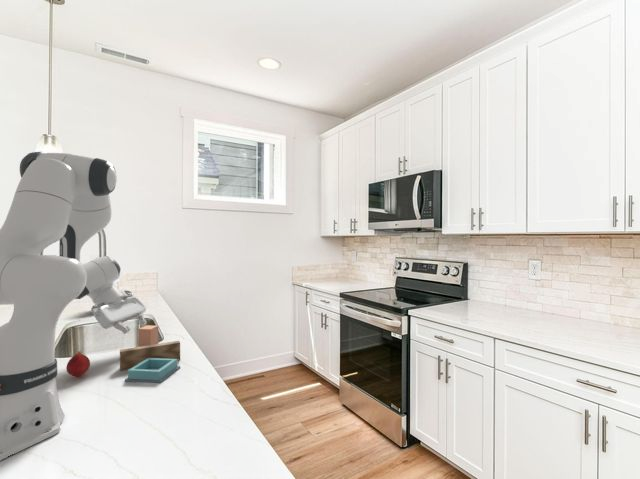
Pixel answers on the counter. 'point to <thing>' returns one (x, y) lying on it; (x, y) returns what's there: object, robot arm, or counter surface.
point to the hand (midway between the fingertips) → (136, 328)
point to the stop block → (148, 335)
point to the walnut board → (148, 353)
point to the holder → (152, 370)
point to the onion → (78, 365)
